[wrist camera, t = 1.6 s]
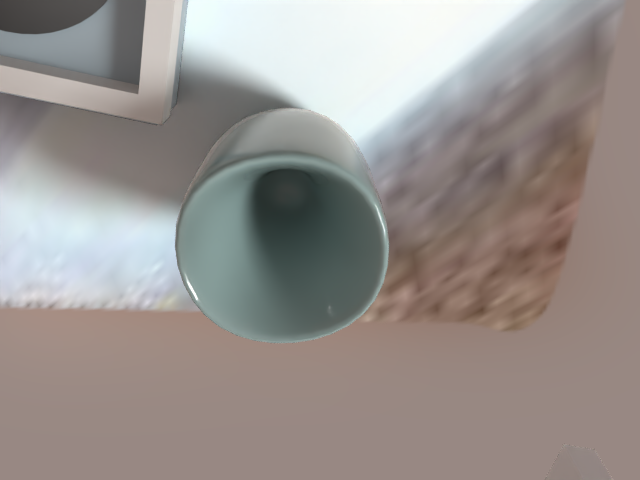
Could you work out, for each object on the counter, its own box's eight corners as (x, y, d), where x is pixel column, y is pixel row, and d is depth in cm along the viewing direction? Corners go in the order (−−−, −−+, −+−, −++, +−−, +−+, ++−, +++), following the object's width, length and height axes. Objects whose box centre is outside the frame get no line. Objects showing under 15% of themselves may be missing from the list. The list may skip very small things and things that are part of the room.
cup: (226, 241, 31) (194, 355, 22) (200, 98, 27) (149, 162, 18) (368, 228, 30) (395, 337, 21) (360, 83, 27) (388, 140, 18)
